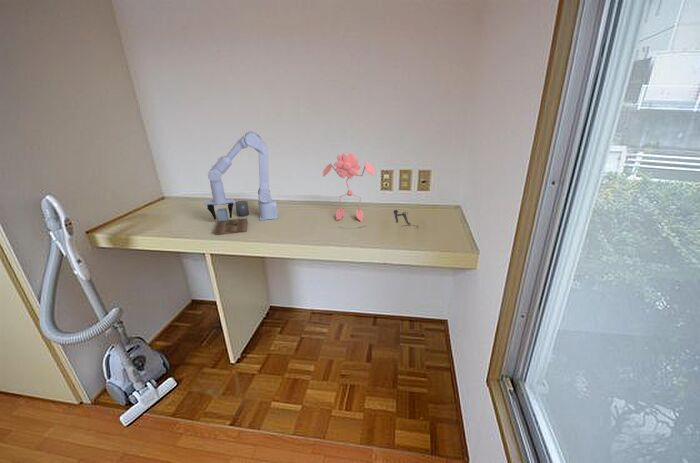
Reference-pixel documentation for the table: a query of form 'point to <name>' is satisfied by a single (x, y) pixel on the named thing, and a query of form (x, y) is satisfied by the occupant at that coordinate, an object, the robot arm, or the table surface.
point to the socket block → (231, 226)
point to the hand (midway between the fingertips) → (223, 218)
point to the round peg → (242, 208)
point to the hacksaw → (404, 217)
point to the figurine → (348, 168)
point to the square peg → (222, 214)
